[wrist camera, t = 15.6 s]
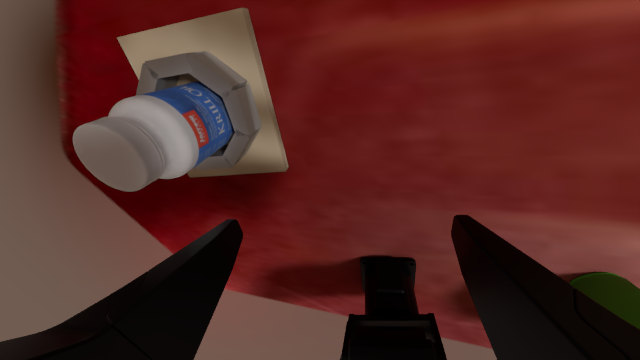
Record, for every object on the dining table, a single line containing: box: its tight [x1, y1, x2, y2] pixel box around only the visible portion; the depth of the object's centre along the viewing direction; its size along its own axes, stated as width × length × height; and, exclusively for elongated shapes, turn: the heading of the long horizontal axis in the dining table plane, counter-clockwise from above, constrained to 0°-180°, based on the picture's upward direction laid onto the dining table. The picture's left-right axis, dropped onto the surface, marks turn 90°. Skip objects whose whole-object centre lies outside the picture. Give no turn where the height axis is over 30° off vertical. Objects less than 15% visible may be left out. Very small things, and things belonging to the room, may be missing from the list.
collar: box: [117, 8, 289, 178], centre depth 20 cm, size 13×11×4 cm
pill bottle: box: [73, 81, 235, 192], centre depth 16 cm, size 6×5×10 cm
